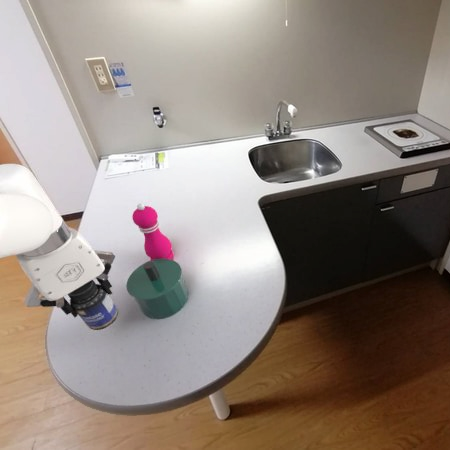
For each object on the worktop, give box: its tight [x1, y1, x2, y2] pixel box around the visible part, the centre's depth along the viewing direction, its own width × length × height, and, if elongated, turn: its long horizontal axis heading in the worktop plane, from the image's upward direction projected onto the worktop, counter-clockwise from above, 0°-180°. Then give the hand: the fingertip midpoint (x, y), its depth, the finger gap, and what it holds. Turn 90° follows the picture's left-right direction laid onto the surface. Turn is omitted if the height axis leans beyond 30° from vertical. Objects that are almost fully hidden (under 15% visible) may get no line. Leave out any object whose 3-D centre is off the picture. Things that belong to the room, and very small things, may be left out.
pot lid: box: [126, 259, 183, 300], centre depth 73 cm, size 13×13×6 cm
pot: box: [133, 276, 189, 320], centre depth 77 cm, size 12×12×8 cm
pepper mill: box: [131, 203, 175, 261], centre depth 85 cm, size 7×7×20 cm
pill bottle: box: [66, 279, 119, 331], centre depth 63 cm, size 6×6×11 cm
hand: (90, 300), depth 62 cm, fingers closed on pill bottle, 6 cm apart
